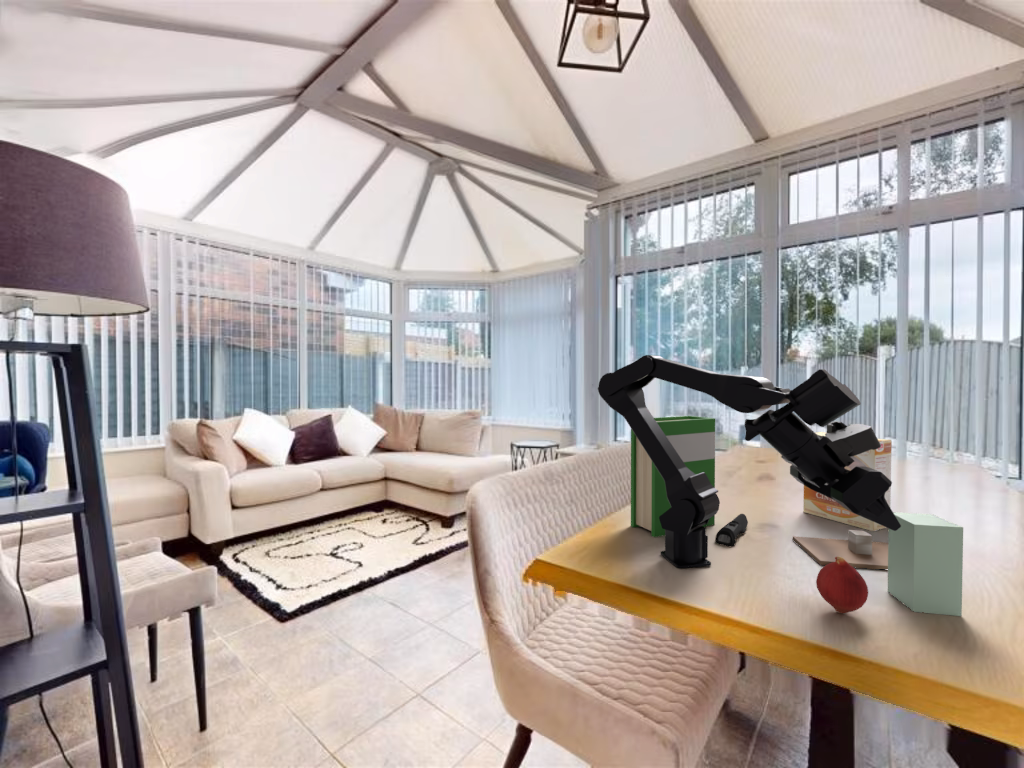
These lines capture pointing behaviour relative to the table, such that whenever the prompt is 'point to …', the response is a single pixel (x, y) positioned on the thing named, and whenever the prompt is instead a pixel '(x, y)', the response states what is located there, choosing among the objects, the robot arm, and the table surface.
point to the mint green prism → (926, 563)
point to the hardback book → (647, 484)
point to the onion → (842, 586)
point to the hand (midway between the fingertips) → (877, 517)
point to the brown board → (847, 550)
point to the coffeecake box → (871, 459)
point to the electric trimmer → (732, 531)
